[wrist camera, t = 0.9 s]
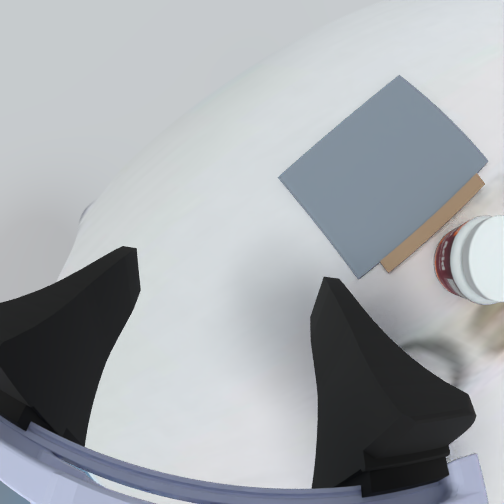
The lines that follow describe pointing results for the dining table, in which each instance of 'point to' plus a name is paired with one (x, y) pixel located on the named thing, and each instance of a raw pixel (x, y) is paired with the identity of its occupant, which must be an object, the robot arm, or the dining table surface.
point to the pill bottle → (473, 260)
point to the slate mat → (386, 177)
